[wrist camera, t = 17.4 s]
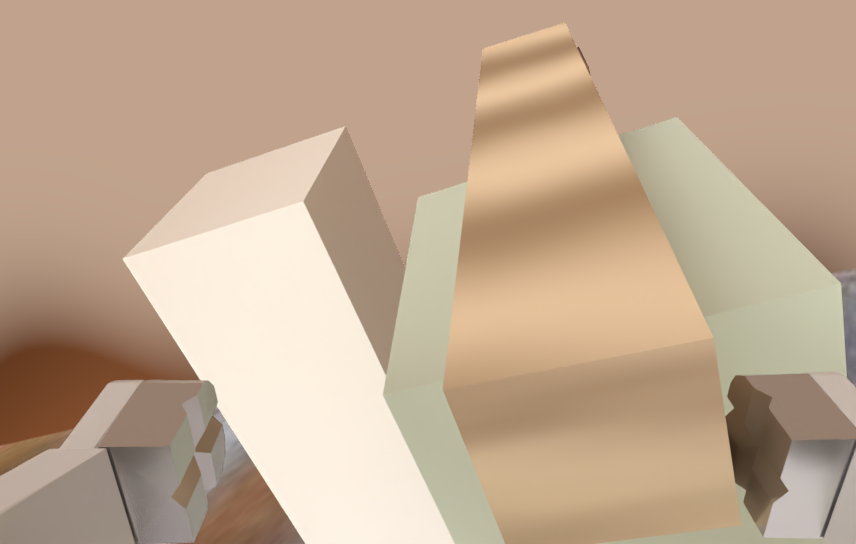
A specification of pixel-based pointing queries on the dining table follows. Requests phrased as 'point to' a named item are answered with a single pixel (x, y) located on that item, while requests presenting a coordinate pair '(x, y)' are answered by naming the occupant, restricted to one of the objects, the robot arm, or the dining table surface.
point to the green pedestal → (709, 282)
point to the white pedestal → (297, 334)
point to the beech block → (576, 323)
